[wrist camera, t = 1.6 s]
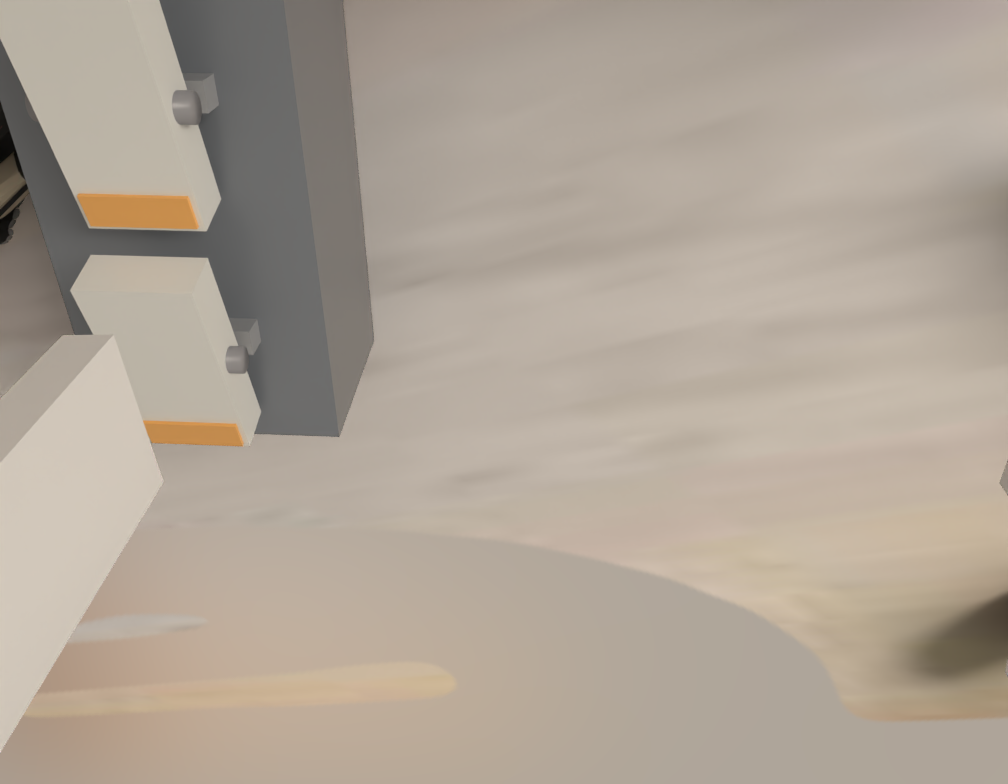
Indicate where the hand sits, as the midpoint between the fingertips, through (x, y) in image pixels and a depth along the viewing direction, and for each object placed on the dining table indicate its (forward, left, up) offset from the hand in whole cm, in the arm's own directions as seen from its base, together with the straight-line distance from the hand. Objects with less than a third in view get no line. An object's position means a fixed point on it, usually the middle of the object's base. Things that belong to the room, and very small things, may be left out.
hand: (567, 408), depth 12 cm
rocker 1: (0, -14, -16) cm, 21 cm away
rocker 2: (+9, -14, -16) cm, 23 cm away
